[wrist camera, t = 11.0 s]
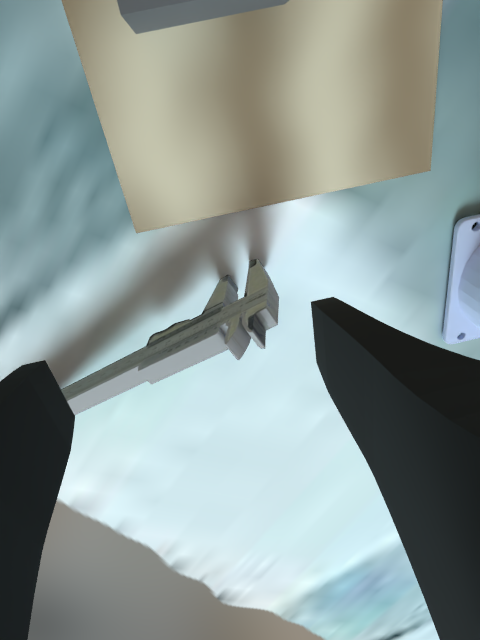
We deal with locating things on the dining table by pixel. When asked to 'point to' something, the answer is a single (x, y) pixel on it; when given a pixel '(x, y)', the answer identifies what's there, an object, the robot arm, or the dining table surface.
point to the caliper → (188, 340)
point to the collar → (183, 11)
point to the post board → (261, 102)
